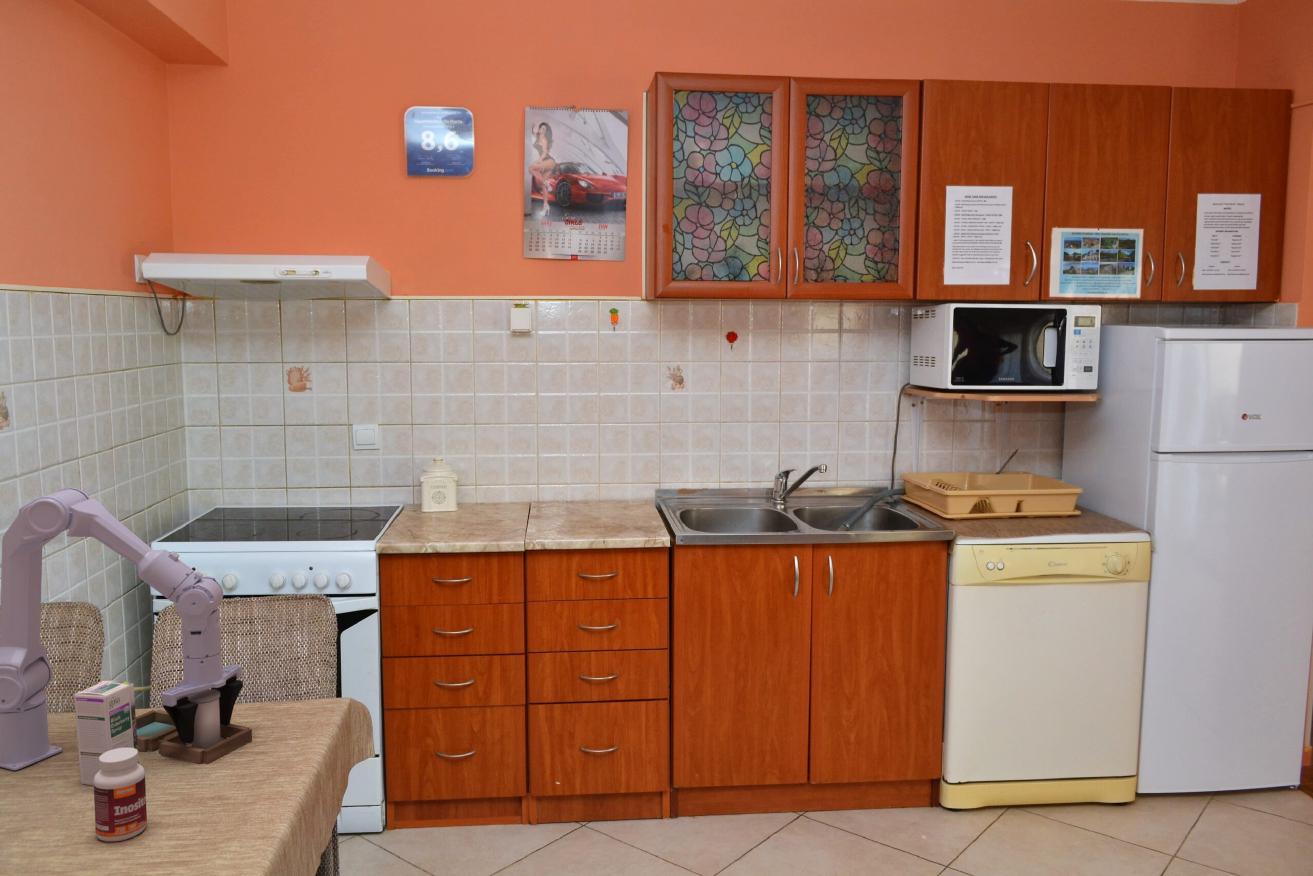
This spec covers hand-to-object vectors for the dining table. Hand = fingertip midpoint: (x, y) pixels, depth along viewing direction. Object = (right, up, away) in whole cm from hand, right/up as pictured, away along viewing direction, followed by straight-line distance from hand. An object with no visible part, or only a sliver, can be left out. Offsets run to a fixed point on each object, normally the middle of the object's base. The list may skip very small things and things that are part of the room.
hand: (205, 733), depth 158 cm
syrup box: (-9, -4, -11) cm, 15 cm away
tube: (0, -2, 0) cm, 2 cm away
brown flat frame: (-6, -2, +2) cm, 6 cm away
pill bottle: (+1, -5, -27) cm, 27 cm away
